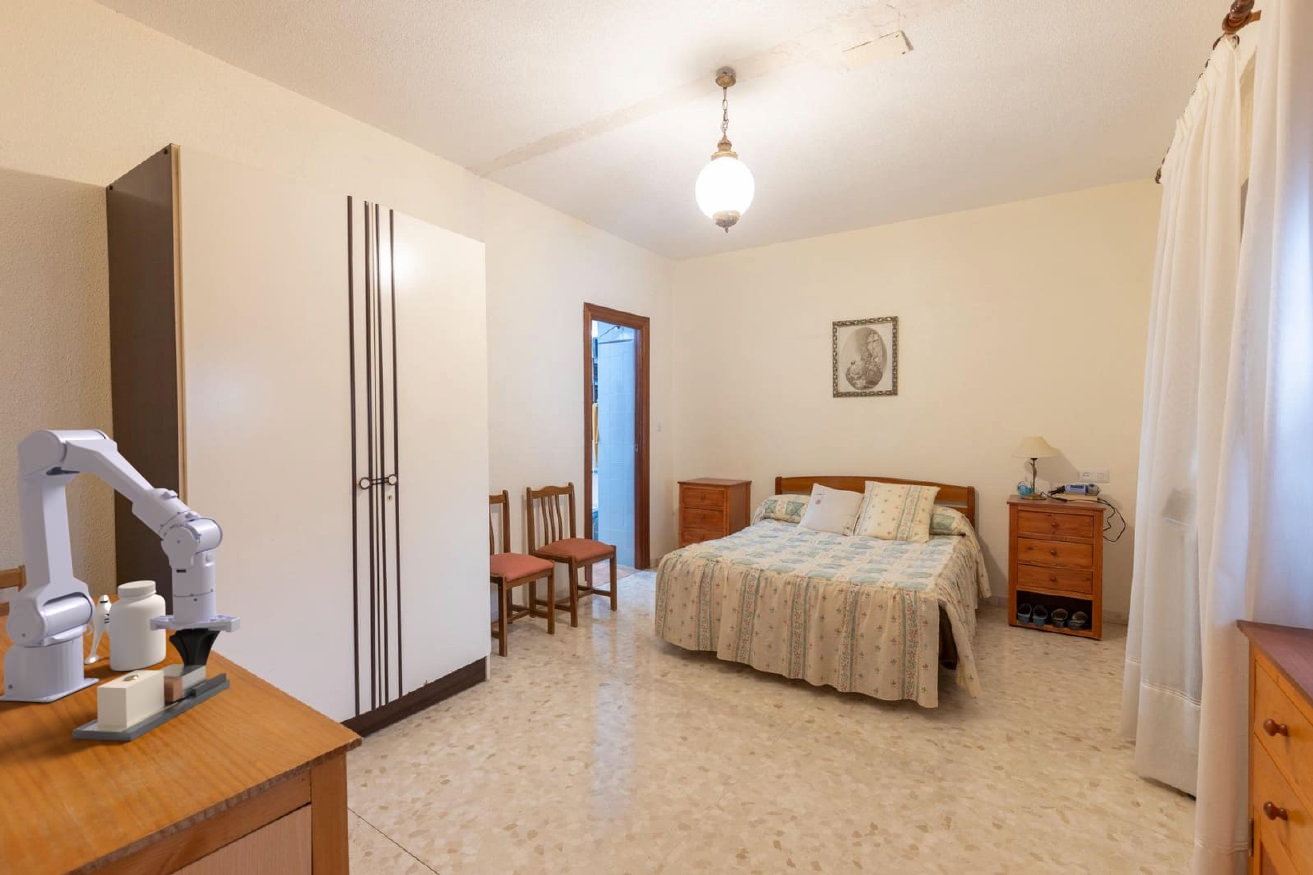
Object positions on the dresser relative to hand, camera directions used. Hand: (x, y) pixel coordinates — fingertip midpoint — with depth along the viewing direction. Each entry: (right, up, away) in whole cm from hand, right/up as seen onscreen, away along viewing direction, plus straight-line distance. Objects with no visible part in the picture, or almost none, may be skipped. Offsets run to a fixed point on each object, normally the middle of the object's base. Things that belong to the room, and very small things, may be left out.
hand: (196, 672), depth 100 cm
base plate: (-1, -3, -7) cm, 8 cm away
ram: (0, -2, -4) cm, 5 cm away
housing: (-1, -2, -11) cm, 11 cm away
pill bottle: (-20, -3, +11) cm, 23 cm away
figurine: (-28, -3, +14) cm, 32 cm away
